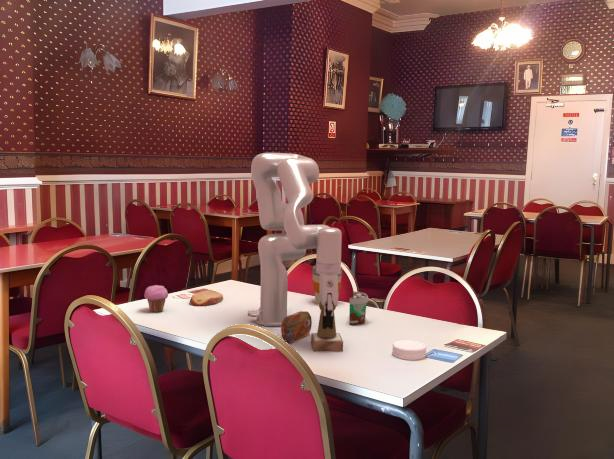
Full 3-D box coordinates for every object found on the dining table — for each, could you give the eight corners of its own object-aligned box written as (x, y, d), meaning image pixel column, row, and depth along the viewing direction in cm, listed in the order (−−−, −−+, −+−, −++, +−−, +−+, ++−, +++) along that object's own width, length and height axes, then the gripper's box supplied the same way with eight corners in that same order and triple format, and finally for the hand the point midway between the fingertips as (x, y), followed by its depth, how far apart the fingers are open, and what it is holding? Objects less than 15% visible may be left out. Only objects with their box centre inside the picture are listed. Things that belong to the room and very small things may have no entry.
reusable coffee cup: (306, 301, 245) (306, 265, 243) (332, 298, 250) (333, 263, 248) (319, 307, 233) (320, 270, 232) (347, 305, 239) (348, 268, 237)
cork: (317, 337, 179) (318, 302, 178) (316, 331, 185) (316, 297, 184) (337, 337, 180) (338, 302, 179) (335, 331, 186) (336, 297, 185)
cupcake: (168, 313, 220) (168, 287, 219) (144, 314, 218) (143, 287, 217) (168, 307, 228) (167, 282, 227) (144, 308, 226) (144, 283, 225)
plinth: (313, 351, 178) (313, 340, 178) (311, 342, 187) (311, 332, 187) (343, 351, 179) (343, 340, 179) (339, 342, 188) (339, 332, 187)
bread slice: (214, 294, 255) (214, 286, 255) (236, 302, 241) (236, 293, 241) (175, 299, 244) (175, 290, 243) (196, 308, 230) (196, 299, 229)
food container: (366, 327, 206) (367, 299, 205) (348, 326, 207) (349, 298, 206) (369, 318, 218) (370, 292, 217) (353, 317, 219) (353, 291, 218)
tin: (287, 345, 184) (287, 318, 183) (278, 343, 186) (279, 317, 185) (312, 334, 197) (312, 309, 196) (304, 332, 198) (304, 308, 198)
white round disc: (389, 350, 182) (389, 339, 181) (420, 350, 182) (421, 339, 182) (396, 361, 172) (396, 349, 171) (429, 361, 172) (430, 349, 172)
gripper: (344, 273, 172) (342, 334, 174) (337, 263, 189) (335, 319, 191) (318, 273, 172) (317, 334, 174) (313, 263, 188) (312, 319, 190)
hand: (326, 325), depth 182 cm, fingers closed on cork, 4 cm apart
